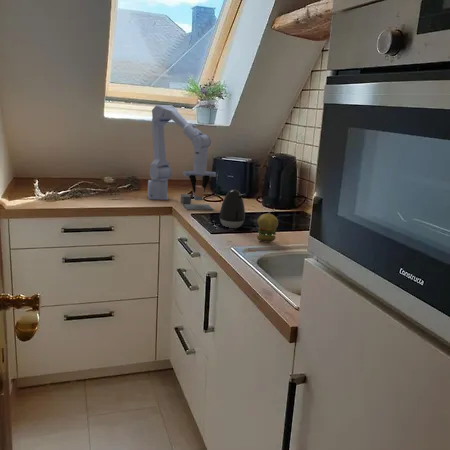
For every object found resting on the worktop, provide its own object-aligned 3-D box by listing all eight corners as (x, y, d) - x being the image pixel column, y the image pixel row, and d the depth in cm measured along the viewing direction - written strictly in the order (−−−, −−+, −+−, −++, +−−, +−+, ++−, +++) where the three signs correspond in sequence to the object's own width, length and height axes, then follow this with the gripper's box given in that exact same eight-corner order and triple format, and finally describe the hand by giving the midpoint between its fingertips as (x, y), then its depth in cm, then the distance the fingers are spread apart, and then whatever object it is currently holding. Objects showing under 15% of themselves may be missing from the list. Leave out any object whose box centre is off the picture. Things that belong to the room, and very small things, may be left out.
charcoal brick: (183, 205, 226) (183, 196, 224) (180, 202, 231) (181, 193, 230) (190, 205, 227) (191, 196, 226) (188, 202, 232) (188, 193, 231)
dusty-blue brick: (194, 199, 238) (195, 191, 237) (192, 197, 244) (193, 189, 242) (202, 200, 239) (202, 192, 238) (199, 197, 244) (200, 189, 243)
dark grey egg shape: (236, 232, 187) (239, 193, 183) (213, 226, 192) (216, 189, 188) (249, 227, 195) (252, 190, 191) (227, 222, 201) (230, 186, 197)
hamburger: (274, 240, 180) (277, 208, 177) (278, 246, 173) (281, 213, 170) (253, 239, 179) (256, 207, 176) (257, 245, 172) (260, 212, 169)
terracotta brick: (195, 196, 217) (196, 188, 216) (193, 194, 223) (193, 185, 222) (203, 197, 218) (204, 188, 217) (200, 194, 224) (201, 185, 223)
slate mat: (186, 210, 216) (186, 208, 216) (183, 205, 224) (183, 204, 224) (212, 210, 219) (213, 208, 219) (208, 205, 227) (208, 204, 227)
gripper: (186, 162, 211) (184, 193, 214) (218, 164, 215) (216, 194, 218) (183, 160, 217) (181, 190, 221) (214, 161, 221) (212, 190, 225)
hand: (198, 192), depth 220 cm, fingers closed on terracotta brick, 4 cm apart
